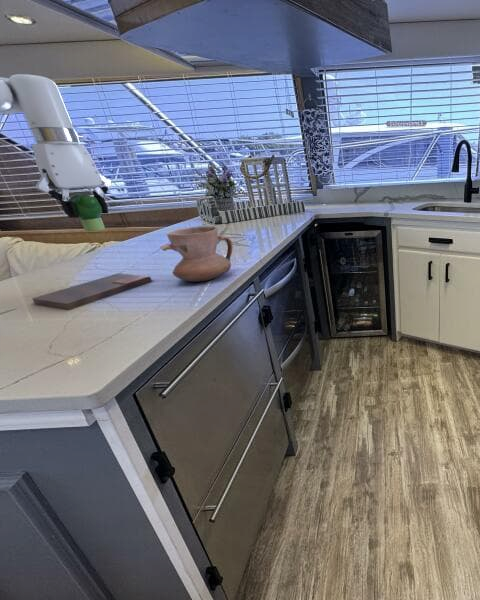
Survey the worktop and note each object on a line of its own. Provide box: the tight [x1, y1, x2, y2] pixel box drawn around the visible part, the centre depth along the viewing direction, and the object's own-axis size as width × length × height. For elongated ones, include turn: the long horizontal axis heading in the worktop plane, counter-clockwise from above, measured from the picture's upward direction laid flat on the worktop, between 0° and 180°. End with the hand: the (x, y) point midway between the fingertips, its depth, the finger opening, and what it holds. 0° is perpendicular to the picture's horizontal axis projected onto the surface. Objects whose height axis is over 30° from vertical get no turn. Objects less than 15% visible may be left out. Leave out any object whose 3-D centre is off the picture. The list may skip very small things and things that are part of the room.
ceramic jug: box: [160, 225, 234, 283], centre depth 93 cm, size 18×14×14 cm
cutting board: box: [31, 272, 153, 310], centre depth 87 cm, size 20×14×2 cm
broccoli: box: [69, 193, 106, 232], centre depth 83 cm, size 6×7×9 cm
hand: (89, 214), depth 83 cm, fingers closed on broccoli, 5 cm apart
